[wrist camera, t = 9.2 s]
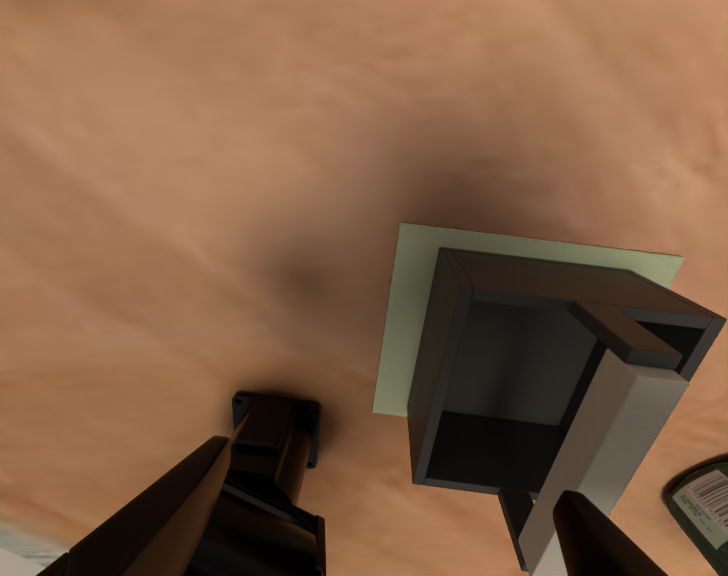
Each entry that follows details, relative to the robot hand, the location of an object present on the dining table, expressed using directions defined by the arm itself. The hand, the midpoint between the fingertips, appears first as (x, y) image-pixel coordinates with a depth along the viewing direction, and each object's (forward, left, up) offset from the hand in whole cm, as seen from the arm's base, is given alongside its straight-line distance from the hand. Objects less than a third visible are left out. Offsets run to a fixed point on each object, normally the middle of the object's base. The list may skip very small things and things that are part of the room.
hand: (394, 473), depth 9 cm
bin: (-3, -8, -13) cm, 15 cm away
